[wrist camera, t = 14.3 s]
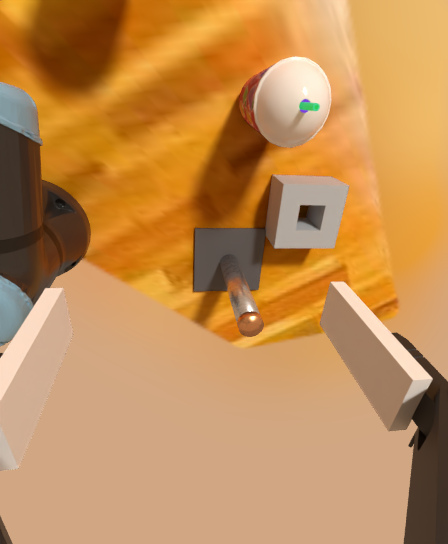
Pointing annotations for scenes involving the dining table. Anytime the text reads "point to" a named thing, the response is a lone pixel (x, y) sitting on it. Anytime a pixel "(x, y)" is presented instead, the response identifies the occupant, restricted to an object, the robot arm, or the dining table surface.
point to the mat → (220, 243)
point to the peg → (241, 297)
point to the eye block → (320, 216)
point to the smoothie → (287, 101)
